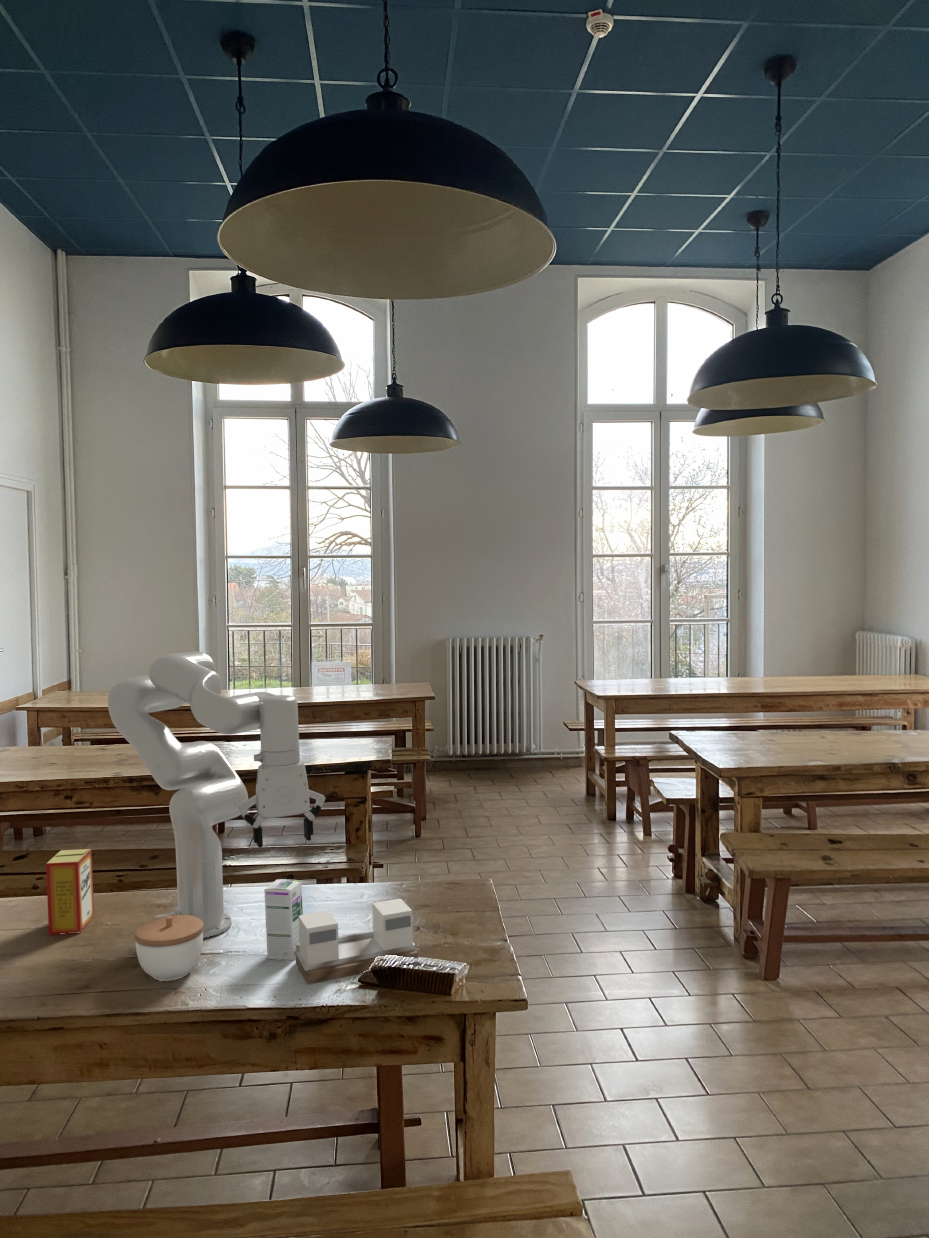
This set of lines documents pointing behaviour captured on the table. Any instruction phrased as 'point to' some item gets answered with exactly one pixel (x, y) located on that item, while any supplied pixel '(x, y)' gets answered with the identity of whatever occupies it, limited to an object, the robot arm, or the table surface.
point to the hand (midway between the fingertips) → (283, 842)
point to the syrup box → (283, 918)
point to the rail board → (349, 958)
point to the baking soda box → (69, 890)
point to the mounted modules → (323, 931)
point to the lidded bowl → (169, 945)
